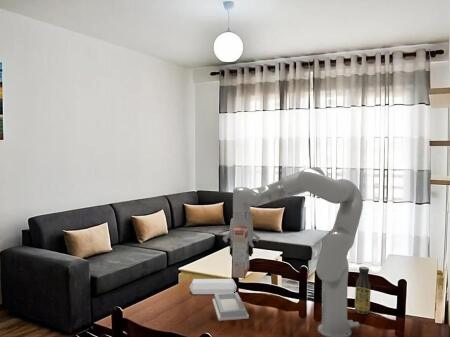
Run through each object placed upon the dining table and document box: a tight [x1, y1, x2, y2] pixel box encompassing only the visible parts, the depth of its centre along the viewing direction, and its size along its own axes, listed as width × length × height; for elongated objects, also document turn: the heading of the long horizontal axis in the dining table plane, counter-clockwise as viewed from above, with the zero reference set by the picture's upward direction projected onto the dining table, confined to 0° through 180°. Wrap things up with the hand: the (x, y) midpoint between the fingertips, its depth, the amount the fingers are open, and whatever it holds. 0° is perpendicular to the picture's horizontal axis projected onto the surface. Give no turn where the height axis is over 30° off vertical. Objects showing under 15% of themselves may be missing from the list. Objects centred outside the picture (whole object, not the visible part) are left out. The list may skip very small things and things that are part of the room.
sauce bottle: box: [354, 266, 372, 315], centre depth 175 cm, size 7×6×20 cm
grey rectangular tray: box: [212, 292, 250, 322], centre depth 180 cm, size 13×22×4 cm, turn 8°
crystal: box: [189, 278, 238, 295], centre depth 201 cm, size 7×7×24 cm
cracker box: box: [231, 227, 250, 279], centre depth 175 cm, size 14×6×21 cm, turn 169°
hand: (241, 255), depth 175 cm, fingers closed on cracker box, 7 cm apart
